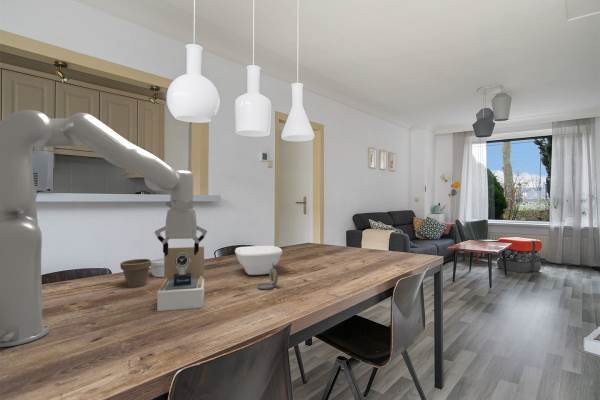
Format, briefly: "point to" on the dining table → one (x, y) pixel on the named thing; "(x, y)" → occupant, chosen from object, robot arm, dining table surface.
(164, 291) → the open display box
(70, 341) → the dining table surface
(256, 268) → the bowl
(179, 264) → the watch
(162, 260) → the ramekin
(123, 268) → the flower pot
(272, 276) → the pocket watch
